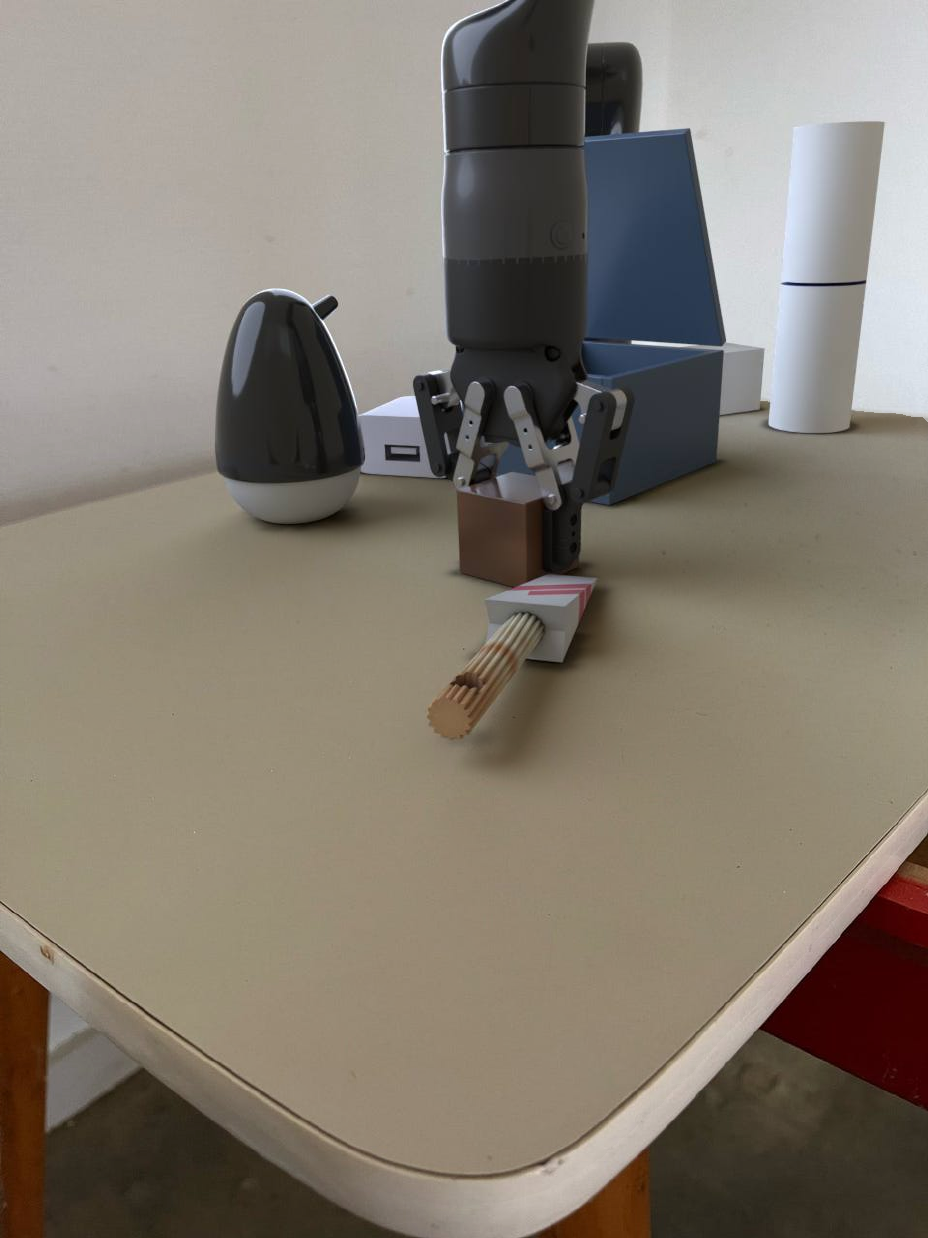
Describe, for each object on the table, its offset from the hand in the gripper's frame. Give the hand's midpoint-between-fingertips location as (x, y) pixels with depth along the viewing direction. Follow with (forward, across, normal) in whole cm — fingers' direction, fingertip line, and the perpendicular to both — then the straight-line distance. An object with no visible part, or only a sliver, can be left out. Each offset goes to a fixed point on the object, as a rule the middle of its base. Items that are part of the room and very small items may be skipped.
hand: (518, 558), depth 58 cm
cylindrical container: (+1, +3, -47) cm, 47 cm away
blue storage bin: (+1, +10, -22) cm, 24 cm away
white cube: (+1, +14, -50) cm, 52 cm away
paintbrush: (+1, -8, +10) cm, 13 cm away
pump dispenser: (+1, +20, 0) cm, 20 cm away
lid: (-16, +10, -26) cm, 32 cm away
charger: (+1, +24, -19) cm, 30 cm away
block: (+1, 0, 0) cm, 1 cm away
